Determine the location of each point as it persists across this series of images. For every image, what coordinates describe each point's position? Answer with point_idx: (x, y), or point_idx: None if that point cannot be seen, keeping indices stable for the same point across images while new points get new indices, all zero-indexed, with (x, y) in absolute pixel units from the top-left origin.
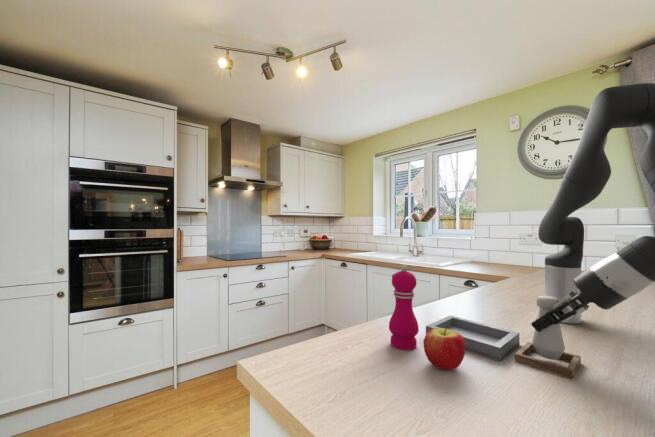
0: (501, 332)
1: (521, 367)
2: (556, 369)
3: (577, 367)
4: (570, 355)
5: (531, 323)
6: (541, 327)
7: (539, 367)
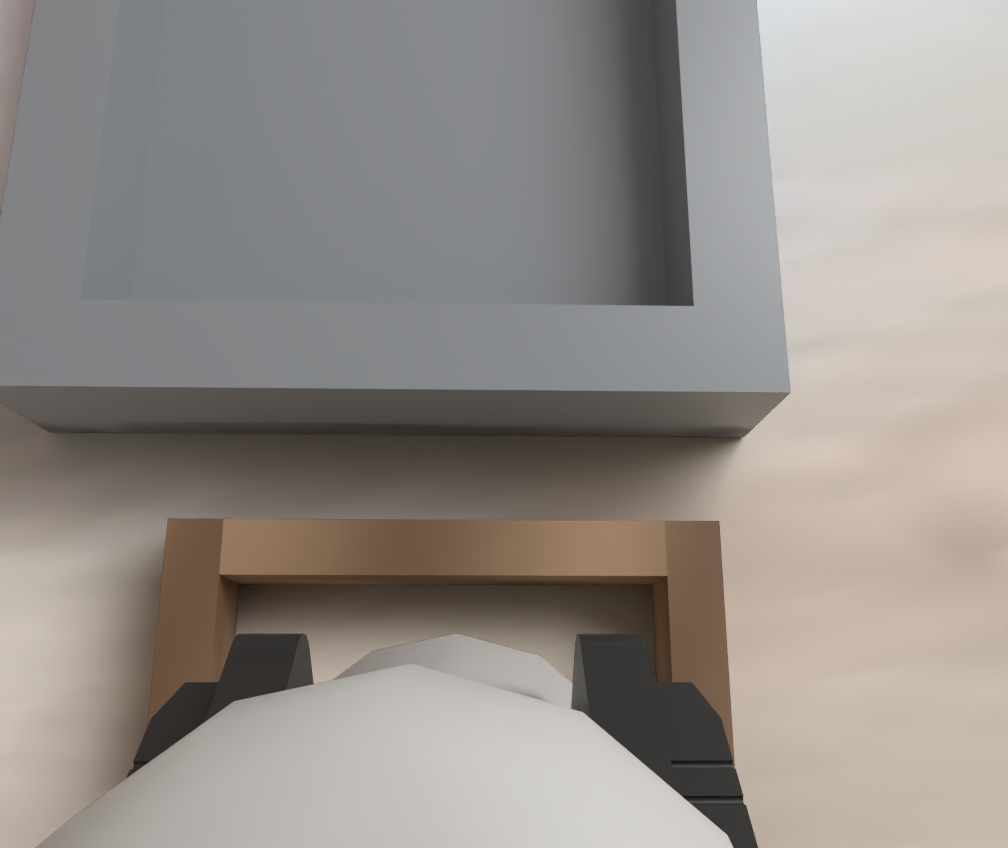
0: (683, 219)
1: (58, 633)
2: None
3: None
4: None
5: (237, 635)
6: None
7: None
